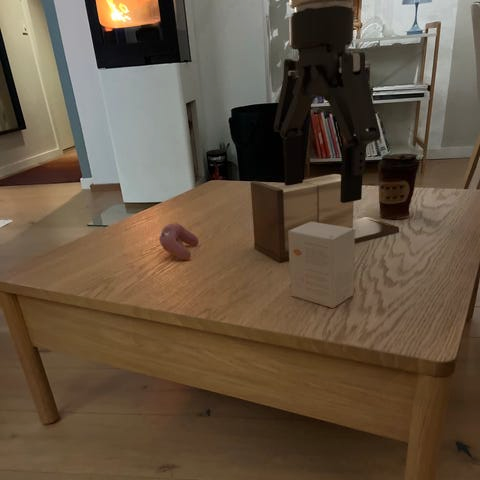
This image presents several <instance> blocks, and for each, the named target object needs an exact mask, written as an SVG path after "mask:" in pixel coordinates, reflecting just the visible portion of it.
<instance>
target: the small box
mask: <svg viewBox="0 0 480 480" xmlns="http://www.w3.org/2000/svg"><path fill="white" fill-rule="evenodd" d="M288 240H289V261H288V263H289V281H290V282H289V283H290V284H289V285H290V296H291V297H295V298H297V299H301V300H305V301H307V302H311V303H315V304H317V305H320V306H325V307H328V308H331V309H334V308H335V307H337V306H339V305H340V304H341V303H343V302H345V301H346V300H348V299H349V298H351V297H352V296H354V292H355V247H356V246H355V245H356V243H355V229H354V228H347V227H341V226H335V225H329V224H323V223H317V222H309V223H306V224H304V225H301V226H299V227H296V228H294V229H292V230H289V231H288Z"/></svg>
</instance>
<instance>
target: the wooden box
mask: <svg viewBox="0 0 480 480" xmlns="http://www.w3.org/2000/svg"><path fill="white" fill-rule="evenodd" d="M250 196H251V197H250V198H251V212H252V225H253V240H254V241H253V242H254V244H253V248H254V249H255V250H256V251H258V252H259V253H262V254H264V255H265V256H267V257H269V258H270V259H271V260H274V261H276V262H278V263H284V262H285V263H286V262H289V240H288V231H289V230H292V229H294V228H296V227H299V226H301V225H304V224H306V223H309V222H317V223H323V224H329V225H335V226H341V227H347V228H354V229H355V244H358V243H362V242H365V241H369V240H374V239H377V238H381V237H385V236H388V235H392V234H396V233H399V232H400V226H398V225H397V226H396V225H393V224H390V223H387V222H384V221H381V220H378V219H375V218H371V217H369V216H365V217H361V218H355V219H354V204H355V201H352V202H347V203H342V202H340V196H341V174H338V173H333V174H327V175H322V176H318V177H317V176H316V177H312V178H307V179H303V183H300V184H294V185H289V186H287V185H285V183H280V184H275V185H270V184H266V183H264V182H261V181H258V180H253V181H250Z"/></svg>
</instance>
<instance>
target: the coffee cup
mask: <svg viewBox="0 0 480 480" xmlns="http://www.w3.org/2000/svg"><path fill="white" fill-rule="evenodd" d="M417 157H418V154H415V153H394V154H393V153H392V154H385V155H382V157H381V160H380V161H379V162H378V166H377V167H378V169H377V170H378V203H379V204H378V205H379V216H380V217H381V218H385V219H393V220H394V219H395V220H397V219H398V220H399V219H407V218H409V217H411V216H410V215H411V213H410V205H411V203H412V198H413V196H414V194H415V193H414V192H415V187H416V179H417V173H418V171H419V168H420V164H421V163H420V160H419V159H417Z"/></svg>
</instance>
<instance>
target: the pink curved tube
mask: <svg viewBox="0 0 480 480" xmlns="http://www.w3.org/2000/svg"><path fill="white" fill-rule="evenodd" d="M158 238H159V243H160V245H161V247H162V248H163V249H164V250H165V252H167V253H169V254H171V255H172V256H174V257H175V258H177V259H178V260H179V259H180V260H183V261H189V260H190V259H191V257H192V254H191V251H190V250H189V249H188V248H187V247H185V245H184V244H186V245H188V246H194V247H197V246H198V245H199V238H198V237H197V236H196V234H194V233H192V232H191V231H190V230H187V229H186V228H185V227H184V226H183V225H181V224H179V223H178V221H177V222H175V223H169V224H167V225H166V226H164V227H163V228H162V230H161V235H160V236H159V237H158Z"/></svg>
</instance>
